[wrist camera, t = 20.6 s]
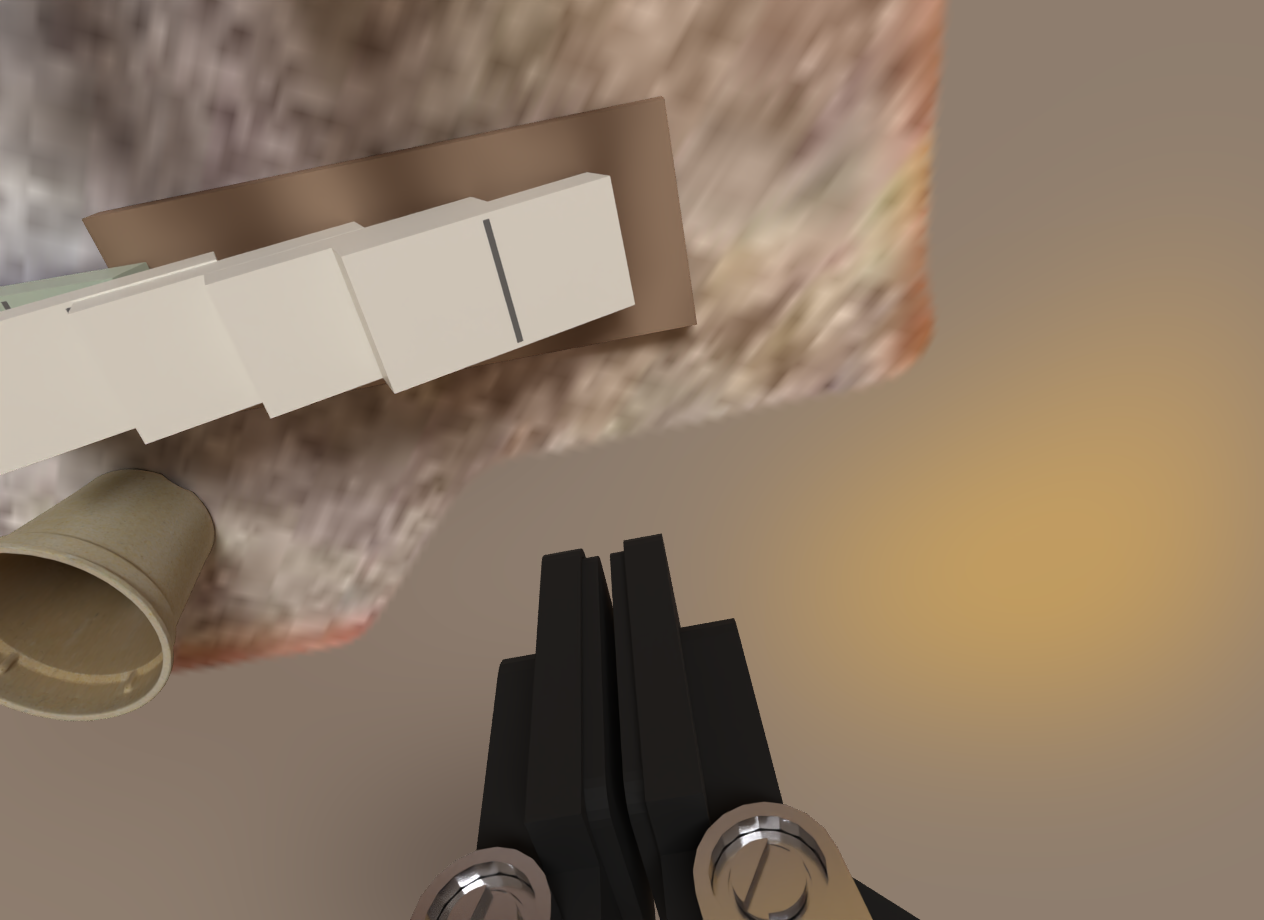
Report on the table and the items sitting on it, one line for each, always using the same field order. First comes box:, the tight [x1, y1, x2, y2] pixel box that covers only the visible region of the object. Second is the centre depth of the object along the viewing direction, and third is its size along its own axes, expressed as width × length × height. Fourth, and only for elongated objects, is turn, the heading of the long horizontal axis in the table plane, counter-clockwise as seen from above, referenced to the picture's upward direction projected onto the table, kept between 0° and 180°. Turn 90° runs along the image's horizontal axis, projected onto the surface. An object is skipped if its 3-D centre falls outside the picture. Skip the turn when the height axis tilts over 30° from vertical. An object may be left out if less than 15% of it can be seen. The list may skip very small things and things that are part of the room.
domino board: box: [82, 96, 697, 412], centre depth 31 cm, size 23×9×1 cm, turn 100°
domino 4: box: [332, 172, 635, 394], centre depth 28 cm, size 2×5×10 cm
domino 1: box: [0, 251, 218, 475], centre depth 28 cm, size 2×5×10 cm
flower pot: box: [0, 469, 214, 721], centre depth 34 cm, size 9×9×9 cm
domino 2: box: [67, 221, 364, 444], centre depth 28 cm, size 2×5×10 cm
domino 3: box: [204, 197, 487, 419], centre depth 28 cm, size 2×5×10 cm
